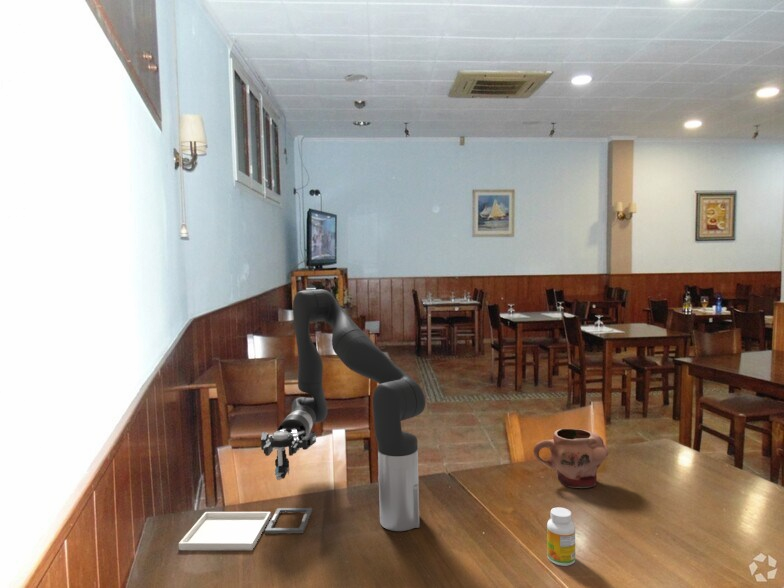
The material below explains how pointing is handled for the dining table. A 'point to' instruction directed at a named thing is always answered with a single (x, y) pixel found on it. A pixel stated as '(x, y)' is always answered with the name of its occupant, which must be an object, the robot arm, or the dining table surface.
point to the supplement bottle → (561, 537)
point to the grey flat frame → (272, 530)
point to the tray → (226, 531)
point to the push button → (281, 452)
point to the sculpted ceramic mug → (574, 456)
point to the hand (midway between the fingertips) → (278, 451)
